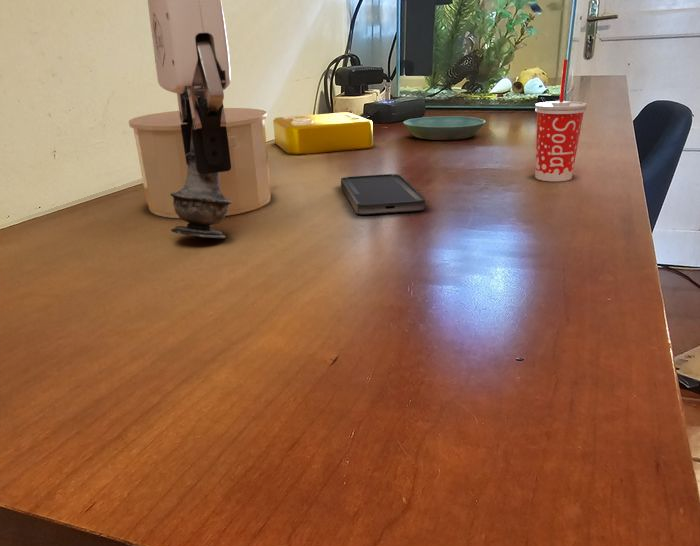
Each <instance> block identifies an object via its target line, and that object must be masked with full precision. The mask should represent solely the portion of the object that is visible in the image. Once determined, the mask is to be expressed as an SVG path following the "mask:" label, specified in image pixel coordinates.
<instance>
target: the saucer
mask: <svg viewBox="0 0 700 546" xmlns="http://www.w3.org/2000/svg"><path fill="white" fill-rule="evenodd" d="M485 124H486V120H485V119H483V118H479V117H473V116H458V115H450V116H449V115H439V116H437V115H436V116H425V117H424V116H423V117H422V116H421V117H415V118H409V119H406V120H404V121H403V125H404V127H405V128H406V130H407V131H408V132H409V133H410V134H411V135H412V136H414V137H415V138H418V139H421V140H430V141H455V140H465V139H469V138H472V137H474V136H475V135H476V134H477V133H478V132H479V131H480V130H481V129H482V128H483V127H484V125H485Z"/></svg>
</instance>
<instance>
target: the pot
mask: <svg viewBox="0 0 700 546" xmlns="http://www.w3.org/2000/svg"><path fill="white" fill-rule="evenodd" d="M265 125H266V124H265V119H264V120H262V121H258V122H255V123H250V124H245V125H238V126H231V127H226V128H227V136H228V144H229V152H230V160H231V169H230V170H229V171H225V172H219V188H220V192H221V194H222V195H223V196H224V197H225V198H226V199H227V200H230V201H231V202H232V203H231V204H229V205H228V211H227V213H226V215H225V217H229V216H234V215H239V214H243V213H248V212H251V211H254V210H257V209H260V208H262V207H264V206H266V205H268V204H269V203H270V202H271V200H272V199H271V198H272V197H271V193H272V188H271V180H270V179H271V178H270V167H269V156H268V146H267V137H266V126H265ZM132 129H133V133H134V140H135V146H136V150H137V156H138V162H139V166H140V173H141V178H142V183H143V189H144V194H145V200H146V205H147V206H148V210H149V212H150V213H152V214H154V215H156V216H159V217H165V218H170V219H181V218H180V217H179V216H178V215H177V213H176V212H175V209H174V206H173V199H174V198H173V196H171V195H170V194H171V193H176V192H178V191H179V190H181V189H182V188H183V187H184V185H185V182H186V179H187V173H188V165H187V163H186V157H185V151H184V145H183V138H182V132H181V131H151V130H139V129H134V128H132Z"/></svg>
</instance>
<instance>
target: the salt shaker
mask: <svg viewBox="0 0 700 546" xmlns="http://www.w3.org/2000/svg"><path fill="white" fill-rule="evenodd" d="M192 129H195V128H194V125H193V123H192ZM186 156H187V157H188V159H189V160H188V173H187V179H186V182H185V185H184V187H183V188H182V189H181V190H179V191H178V192H176V193H171V194H170V195H171V196H173V198H174V199H173V206H174V209H175V212H176V213H177V215H178V216H179V217H180V218H179V219H181V220H183V221H185V222H187V224H186V226H185V225H176V226H175V227H174V228H171V229H170V232H171V233H175V234H180V235H185V236H192V237H198V238H199V237H201V238H210V239H226V235H225V234H223V232H222V231H220V230H215V229H212V226H213V225H216V224H219V223H221V222H222V221H223V220H224V219H225V217H226V216H225V215H226V213H227V211H228V205H229V204H231V203H232V202H231V201H230V200H227V199H226V198H225V197H224V196H223V195H222V194H221V192H220V188H219V172H217V173H209V174H200V173H198V172H197V169H196V162H195V155H194V149H193V142H192V135H191V145H190V153H187V154H186Z"/></svg>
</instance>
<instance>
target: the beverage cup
mask: <svg viewBox="0 0 700 546" xmlns="http://www.w3.org/2000/svg"><path fill="white" fill-rule="evenodd" d="M568 60H569V59H563V64H562V72H561V80H560V81H561V82H560V91H559V99H558V100H555V101H554V100H553V101H545V102H544V101H543V102H537V103H535V112H536V115H537V116H536V140H535V141H536V143H535V171H534V172H535V174H534V178H535V179H536V180H540V181H543V182H544V181H545V182H566V181H569V180H572V178H573V173H574V167H575V162H576V157H577V151H578V147H579V141H580V134H581V130H582V129H581V128H582V125H583V117H584V113H585V112H586V111H587V107H588V103H586V102H582V101H570V100H565V99H564V98H565V89H566V81H567V69H568Z"/></svg>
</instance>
